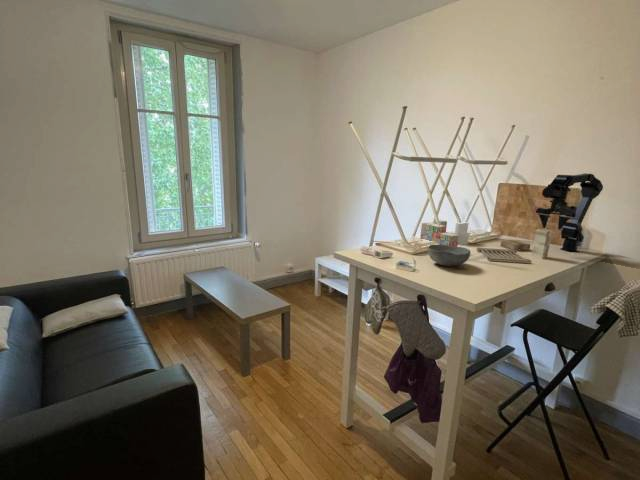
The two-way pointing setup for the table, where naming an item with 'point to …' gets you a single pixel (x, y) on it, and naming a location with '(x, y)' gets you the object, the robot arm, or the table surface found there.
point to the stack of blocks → (438, 234)
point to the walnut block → (515, 245)
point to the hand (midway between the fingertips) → (551, 228)
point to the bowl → (448, 254)
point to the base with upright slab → (462, 233)
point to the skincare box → (441, 223)
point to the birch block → (541, 243)
